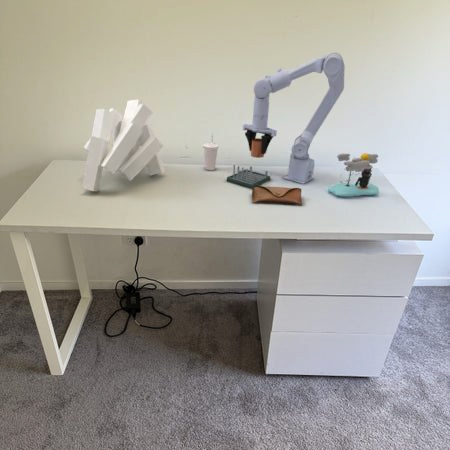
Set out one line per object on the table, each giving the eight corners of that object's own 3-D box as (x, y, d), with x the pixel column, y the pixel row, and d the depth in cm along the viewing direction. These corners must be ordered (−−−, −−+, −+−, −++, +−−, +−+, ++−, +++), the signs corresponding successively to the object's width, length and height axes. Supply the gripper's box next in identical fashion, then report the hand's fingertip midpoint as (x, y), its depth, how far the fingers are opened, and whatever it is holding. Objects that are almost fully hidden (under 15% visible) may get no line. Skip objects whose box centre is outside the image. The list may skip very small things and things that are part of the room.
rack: (270, 180, 154) (271, 164, 150) (251, 189, 145) (253, 172, 142) (245, 173, 159) (246, 157, 156) (226, 181, 151) (227, 165, 147)
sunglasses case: (252, 202, 134) (253, 182, 133) (251, 205, 141) (252, 186, 140) (304, 204, 134) (305, 185, 133) (300, 207, 141) (301, 189, 140)
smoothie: (217, 171, 160) (218, 136, 151) (202, 171, 159) (202, 135, 151) (218, 166, 165) (219, 132, 156) (203, 166, 165) (203, 131, 156)
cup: (266, 155, 155) (267, 140, 152) (259, 158, 152) (260, 142, 148) (255, 152, 158) (256, 137, 154) (248, 155, 155) (249, 140, 151)
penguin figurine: (370, 186, 152) (381, 147, 142) (384, 197, 143) (396, 155, 134) (323, 188, 148) (330, 148, 139) (334, 199, 140) (343, 157, 131)
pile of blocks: (139, 216, 135) (178, 117, 124) (56, 178, 130) (89, 71, 119) (154, 204, 167) (186, 125, 156) (88, 173, 162) (117, 89, 151)
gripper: (239, 113, 147) (237, 150, 155) (271, 120, 140) (267, 158, 148) (249, 111, 151) (247, 146, 160) (281, 117, 144) (276, 154, 153)
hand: (257, 152), depth 154 cm, fingers closed on cup, 5 cm apart
